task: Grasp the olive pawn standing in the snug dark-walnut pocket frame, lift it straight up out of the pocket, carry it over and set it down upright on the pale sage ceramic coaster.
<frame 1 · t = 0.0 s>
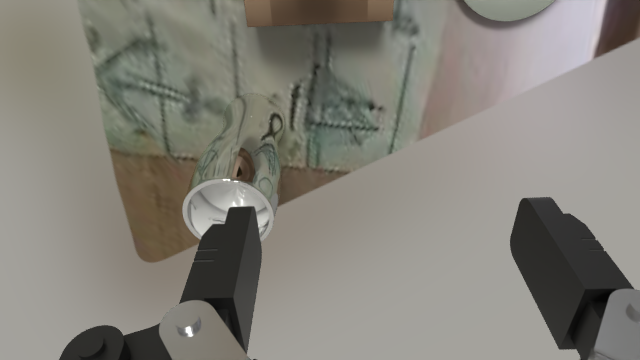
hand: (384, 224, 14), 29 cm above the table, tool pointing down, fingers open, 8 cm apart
beer glass: (254, 120, 44), on the table
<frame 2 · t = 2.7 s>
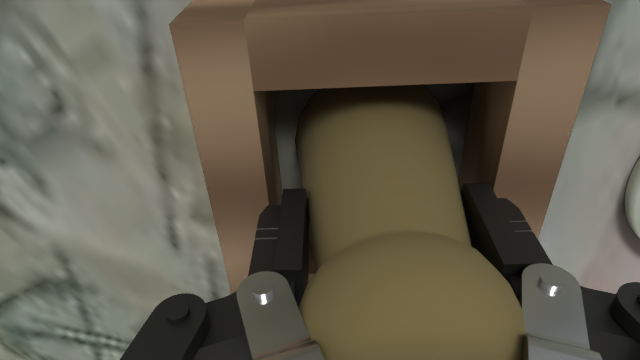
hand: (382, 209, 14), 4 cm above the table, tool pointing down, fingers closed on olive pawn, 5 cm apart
olive pawn: (369, 138, 18), resting in pocket frame, touching gripper
pocket frame: (370, 141, 18), on the table
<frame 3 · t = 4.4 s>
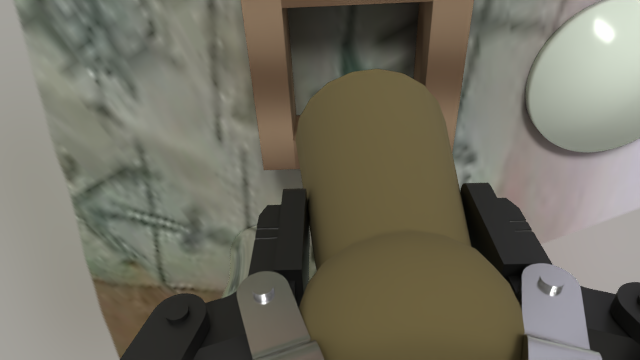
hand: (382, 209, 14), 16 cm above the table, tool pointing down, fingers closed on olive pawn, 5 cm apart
olive pawn: (369, 138, 18), point 11 cm above the table, touching gripper
coaster: (607, 77, 28), on the table
beer glass: (268, 250, 36), on the table
pocket frame: (353, 56, 27), on the table
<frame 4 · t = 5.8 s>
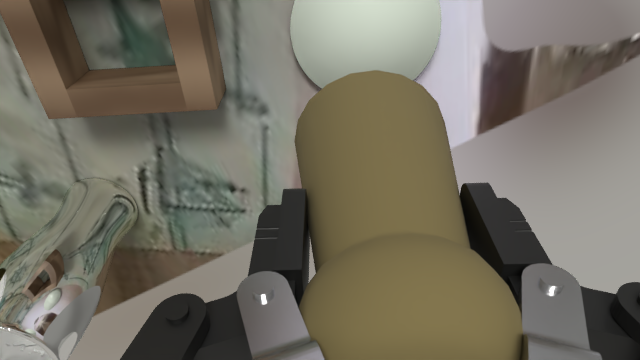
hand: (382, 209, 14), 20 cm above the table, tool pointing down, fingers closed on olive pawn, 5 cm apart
olive pawn: (369, 139, 18), point 15 cm above the table, touching gripper
coaster: (364, 27, 30), on the table
beer glass: (104, 204, 39), on the table
pocket frame: (124, 12, 30), on the table
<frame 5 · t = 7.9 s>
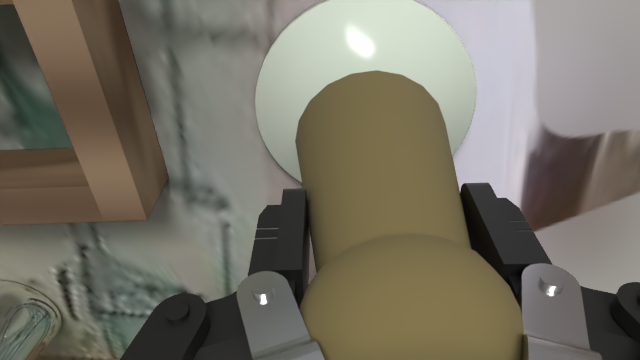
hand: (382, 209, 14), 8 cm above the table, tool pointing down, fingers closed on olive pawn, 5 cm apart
olive pawn: (369, 140, 18), point 3 cm above the table, touching gripper
coaster: (363, 103, 21), on the table
beer glass: (16, 308, 30), on the table
pocket frame: (12, 76, 20), on the table
when the fingers open (6 cm above the table, at t = 9.2 s): olive pawn stays where it is, resting on coaster.
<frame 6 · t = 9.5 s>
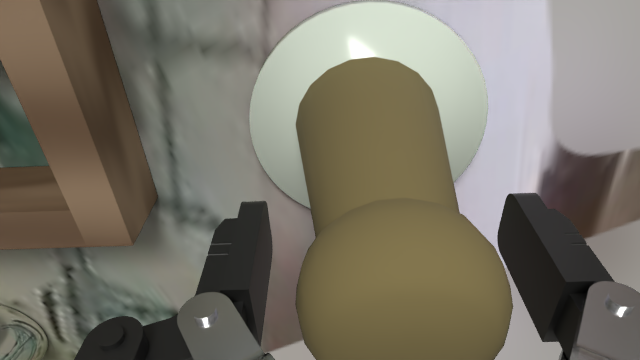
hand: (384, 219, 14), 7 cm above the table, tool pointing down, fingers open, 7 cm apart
olive pawn: (366, 124, 19), point 1 cm above the table, touching coaster
coaster: (365, 119, 19), on the table
beer glass: (0, 330, 28), on the table
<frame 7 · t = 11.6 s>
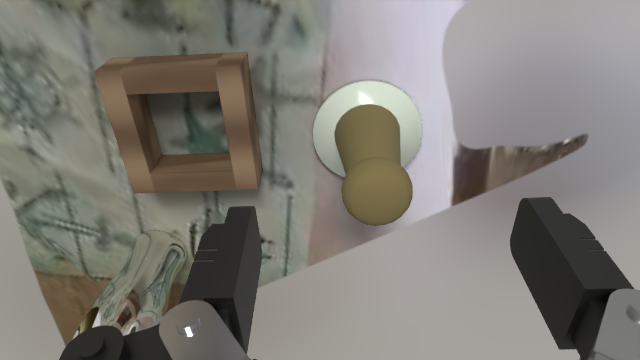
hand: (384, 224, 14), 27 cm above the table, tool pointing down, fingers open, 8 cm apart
olive pawn: (367, 133, 41), point 1 cm above the table, touching coaster
coaster: (366, 131, 41), on the table
beer glass: (160, 249, 50), on the table
pocket frame: (192, 117, 41), on the table
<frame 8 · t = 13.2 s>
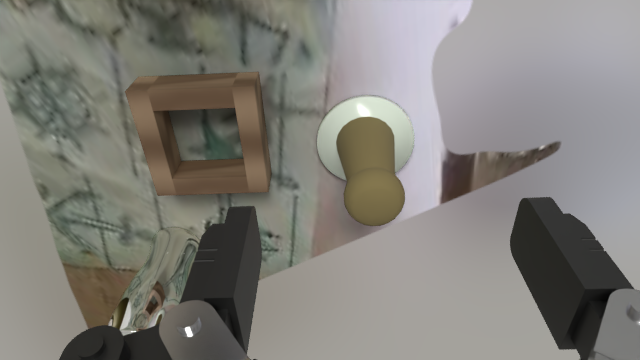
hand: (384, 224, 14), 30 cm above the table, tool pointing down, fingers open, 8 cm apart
olive pawn: (365, 141, 46), point 1 cm above the table, touching coaster
coaster: (364, 139, 46), on the table
beer glass: (177, 244, 55), on the table
pocket frame: (209, 128, 46), on the table
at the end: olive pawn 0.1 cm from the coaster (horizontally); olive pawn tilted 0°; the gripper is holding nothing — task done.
